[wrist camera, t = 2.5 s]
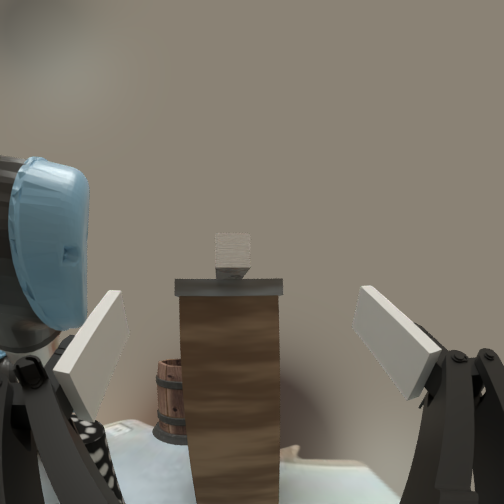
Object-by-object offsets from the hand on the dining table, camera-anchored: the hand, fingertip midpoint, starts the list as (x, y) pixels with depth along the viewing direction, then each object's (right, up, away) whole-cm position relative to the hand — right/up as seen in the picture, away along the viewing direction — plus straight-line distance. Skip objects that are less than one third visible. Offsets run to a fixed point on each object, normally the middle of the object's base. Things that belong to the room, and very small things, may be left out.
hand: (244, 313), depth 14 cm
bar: (-3, -1, +25) cm, 25 cm away
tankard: (-16, -43, +41) cm, 62 cm away
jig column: (-2, -38, +17) cm, 41 cm away
